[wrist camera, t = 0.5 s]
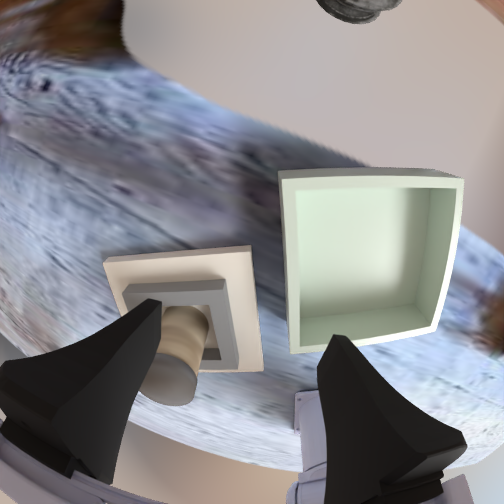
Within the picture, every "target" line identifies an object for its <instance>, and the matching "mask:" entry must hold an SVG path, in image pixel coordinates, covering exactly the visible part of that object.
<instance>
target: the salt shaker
mask: <svg viewBox="0 0 504 504" xmlns="http://www.w3.org/2000/svg"><path fill="white" fill-rule="evenodd" d="M316 1H317V2H318V4H319V5H320V6H321V7H322V8H323V9H324V10H325V11H326V12H327V13H329V14H330V15H332V16H334V17H335V18H337V19H340V20H342V21H344V22H348V23H352V24H365V23H370V22H372V21H374V20H375V19H376V18H377V17H378V16H379V14H380V12H381V11H384V10H390V9H393V8H395V7H397V6H398V5H399V4H400V3H401V2H402V0H316Z"/></svg>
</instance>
